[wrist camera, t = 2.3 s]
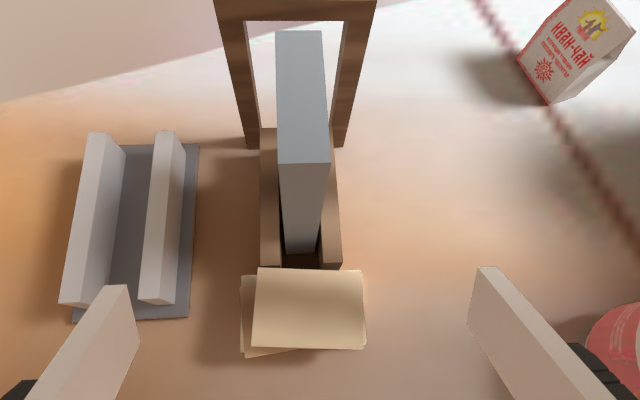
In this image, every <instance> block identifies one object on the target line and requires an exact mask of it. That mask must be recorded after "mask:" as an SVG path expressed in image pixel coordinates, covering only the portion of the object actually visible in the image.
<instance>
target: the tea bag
mask: <svg viewBox="0 0 640 400" xmlns="http://www.w3.org/2000/svg"><path fill="white" fill-rule="evenodd" d="M635 33H636V31H635V29H634V28H633V27H632V26H631V25H630V24H629V22H628V21H627V20H626V19H625V18H624V17H623V15H622V14H621V13H620V12H619V11H618V10H617V8H616V7H615V6H614V5H613V4H612V3H611V2H610V0H566V1H565V2H564V3H563V4H562V5H560V6H559V7H558V8H557V9H556V10H555V11H554V12H553V13H552V14H551V15H550V16H549V17H547V18H546V20H545V21H544V22H543V24H542V25H541V26H540V28H539V29H538V30H537V32H536V33H535V34H534V36H533V37H532V38H531V40H530V41H529V42H528V44H527V45H526V46H525V48H524V49H523V50H522V52H521V53H520V54H519V56H518V57H517V58H516V61H517V62H518V64H519V65H520V66H521V68H522V69H523V71H524V72H525V74H526V75H527V76H528V78H529V79H530V81H531V82H532V84H533V85H534V86H535V88H536V89H537V91H538V92H539V94H540V95H541V96H542V98H543V99H544V101H545V102H546V104H547V105H548V106H550V105H553V104H556V103H559V102H562V101H565V100H567V99H570V98H573V97H576V96H577V95H578V94H579V93H580V92H581V91H582V90H583V89H584V88H585V87H587V86H588V85H589V84H590V83H591V82H592V81H593V80H594V79H595V78H596V77H598V76H599V75H600V74H601V73H602V72H603V71H604V70H605V69H606V68H607V67H609V66H610V65H611V64H612V63H613V62H614V61H615V60H616V59H617V57H618V56H619V54H620V53H621V51H622V50H623V48H624V47H625V45H626V44H627V43H628V41H629V40H630V39H631V37H632V36H633V35H634V34H635Z"/></svg>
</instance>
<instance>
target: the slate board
mask: <svg viewBox="0 0 640 400" xmlns="http://www.w3.org/2000/svg"><path fill="white" fill-rule="evenodd" d="M275 52H276V100H277V148H278V171H279V182H280V193H281V204H282V215H283V226H284V236H285V247H286V254H303V253H314V250H315V245H316V240H317V235H318V229H319V224H320V219H321V214H322V209H323V203H324V198H325V193H326V188H327V183H328V177H329V172H330V167H331V151H330V138H329V125H328V112H327V99H326V86H325V73H324V60H323V46H322V33H321V31H275Z"/></svg>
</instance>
